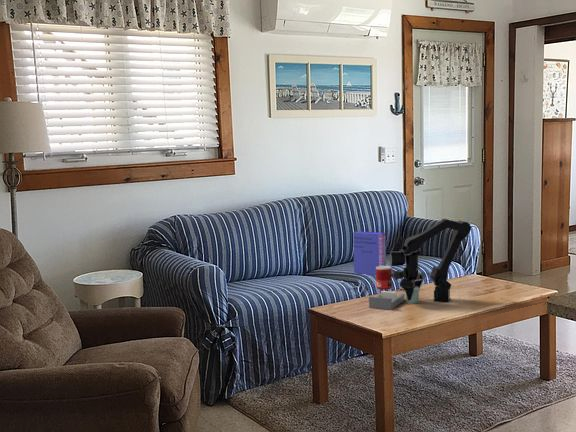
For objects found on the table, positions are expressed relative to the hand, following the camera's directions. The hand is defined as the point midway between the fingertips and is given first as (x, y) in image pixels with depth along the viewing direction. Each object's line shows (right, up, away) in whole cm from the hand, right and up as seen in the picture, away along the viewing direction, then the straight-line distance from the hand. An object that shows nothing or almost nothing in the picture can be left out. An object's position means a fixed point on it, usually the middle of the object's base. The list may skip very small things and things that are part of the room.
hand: (412, 297), depth 303 cm
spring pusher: (-11, -2, +1) cm, 11 cm away
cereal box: (-12, +5, +64) cm, 65 cm away
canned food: (-9, +1, +30) cm, 31 cm away
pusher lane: (-12, -3, 0) cm, 12 cm away
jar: (0, -2, 0) cm, 2 cm away
